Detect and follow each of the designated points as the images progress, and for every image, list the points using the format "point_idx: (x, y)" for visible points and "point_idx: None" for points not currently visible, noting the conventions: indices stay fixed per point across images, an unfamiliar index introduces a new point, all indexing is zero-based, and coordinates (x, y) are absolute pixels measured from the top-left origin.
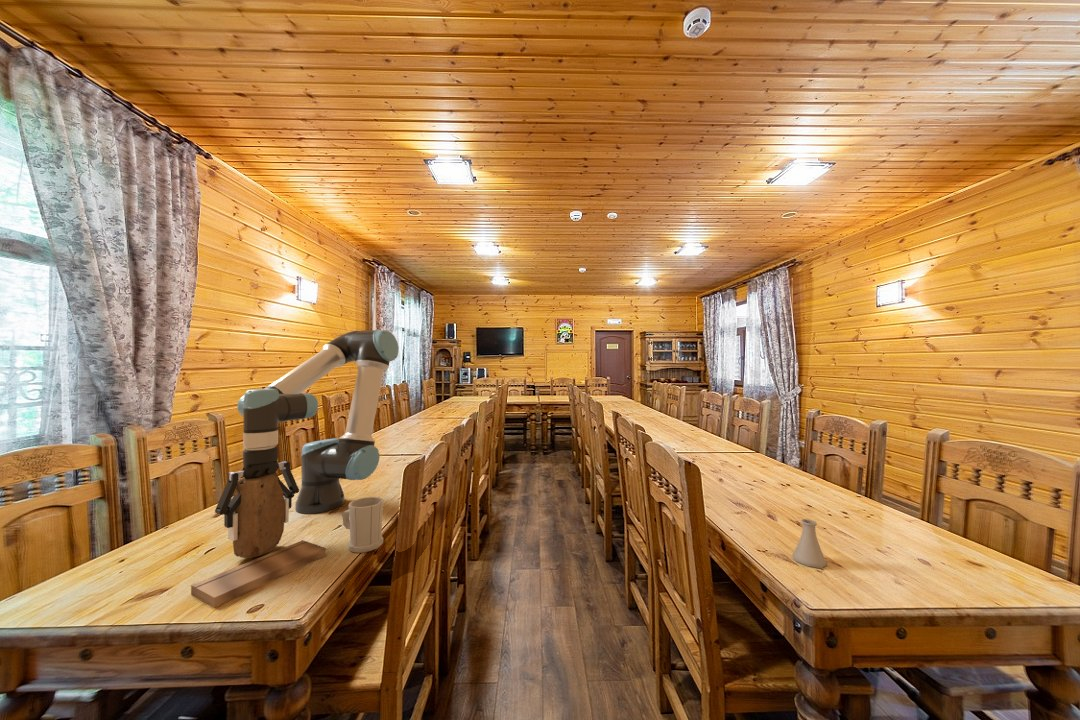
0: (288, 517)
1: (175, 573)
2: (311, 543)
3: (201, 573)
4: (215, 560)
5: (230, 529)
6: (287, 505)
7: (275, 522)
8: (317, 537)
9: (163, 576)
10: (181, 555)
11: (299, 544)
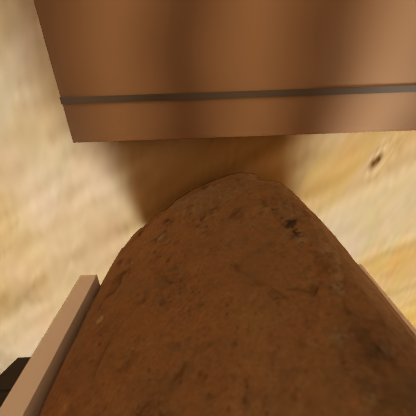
0: (68, 296)
1: None
2: (50, 48)
3: (367, 241)
4: None
5: None
6: (24, 385)
7: (163, 270)
8: (7, 177)
9: (401, 299)
10: None
11: (103, 99)
